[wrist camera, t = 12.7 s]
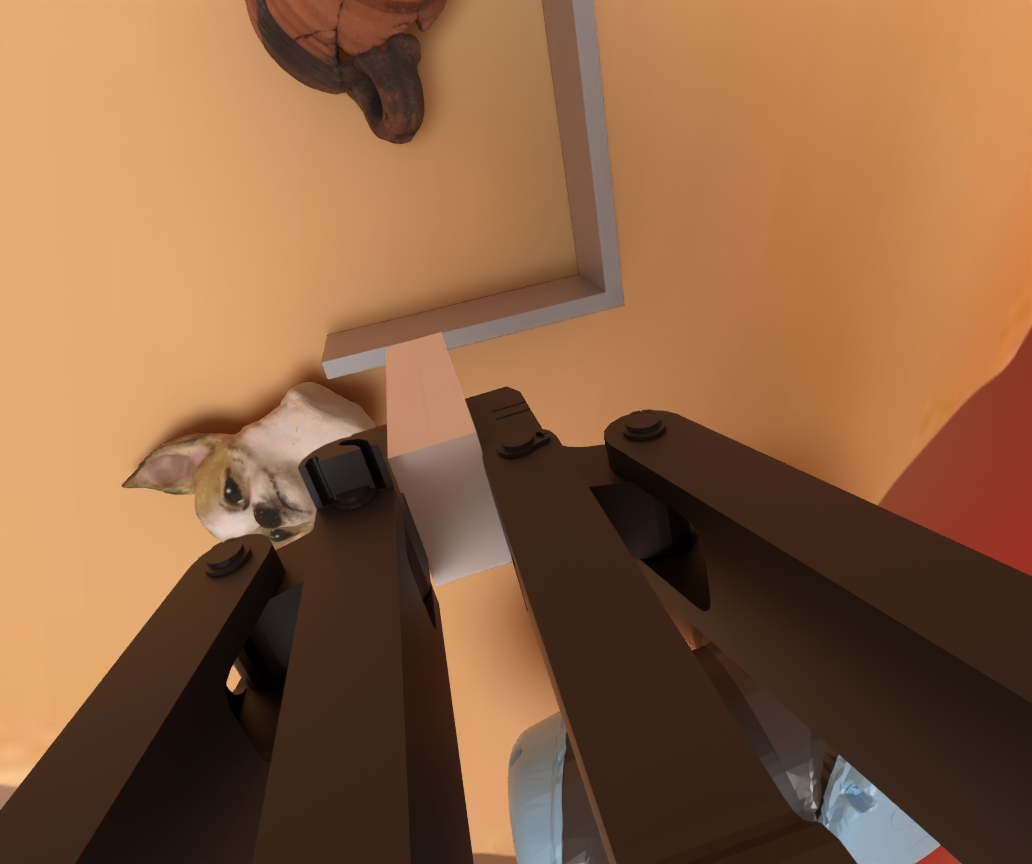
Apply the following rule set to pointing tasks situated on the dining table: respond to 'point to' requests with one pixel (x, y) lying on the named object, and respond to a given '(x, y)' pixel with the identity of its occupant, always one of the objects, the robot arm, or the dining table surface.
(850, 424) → the dining table surface
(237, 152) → the dining table surface
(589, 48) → the walled box
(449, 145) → the dining table surface
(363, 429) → the ceramic sculpture
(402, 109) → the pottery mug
